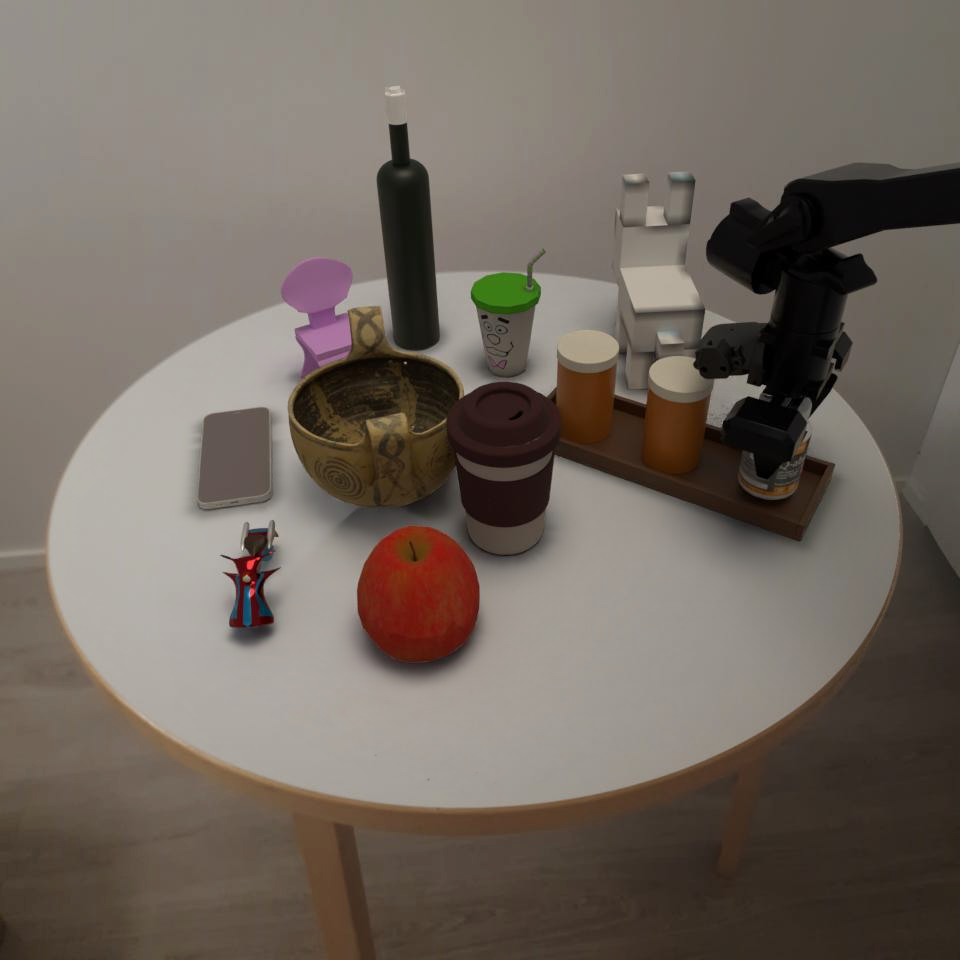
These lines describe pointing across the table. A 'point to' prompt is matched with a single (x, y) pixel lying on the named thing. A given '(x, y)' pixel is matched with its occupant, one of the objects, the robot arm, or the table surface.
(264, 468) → the smartphone
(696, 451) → the amber bottle middle
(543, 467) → the coffee cup
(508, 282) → the cup
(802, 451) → the pill bottle
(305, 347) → the toy chair
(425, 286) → the wine bottle
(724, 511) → the tray
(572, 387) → the amber bottle far
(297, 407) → the ceramic bowl
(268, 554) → the hoverbike
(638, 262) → the toy llama
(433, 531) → the apple
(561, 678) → the table surface
